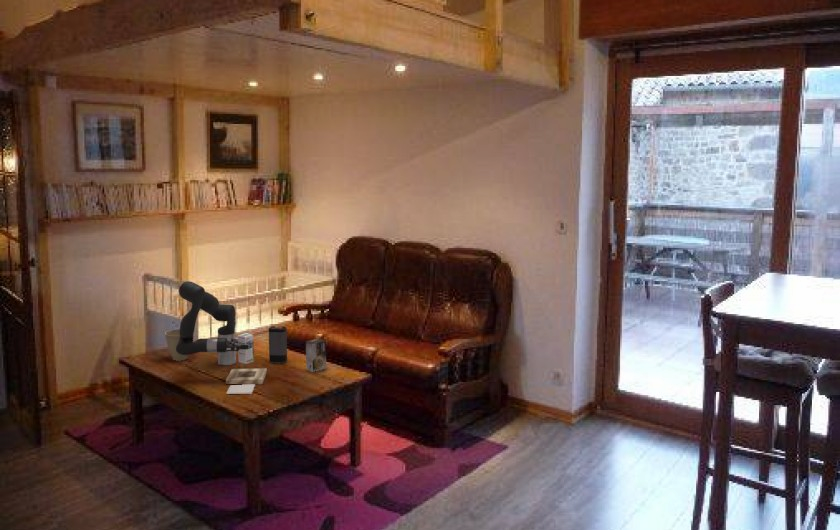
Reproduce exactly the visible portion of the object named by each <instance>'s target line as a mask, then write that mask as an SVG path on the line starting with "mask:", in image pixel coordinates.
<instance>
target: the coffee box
mask: <svg viewBox="0 0 840 530" xmlns="http://www.w3.org/2000/svg"><path fill="white" fill-rule="evenodd" d="M326 344H327V343H326V340H324V339H323V338H315V339H312V340H306V341H305V359H306V360H305V362H306V363H305V364H306V366H305V367H306V369H305V370H307V371H308V370H309V371H308V372H311V373H315V371H316V372H319V370H320V371H323V369H324V370H326V369H327V353H326V352H327V348H326V347H327V345H326Z"/></svg>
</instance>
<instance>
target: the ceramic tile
mask: <svg viewBox="0 0 840 530" xmlns="http://www.w3.org/2000/svg"><path fill="white" fill-rule="evenodd" d="M254 387H255V388H256V384H242V385H229V387H228V389H227V391H226V394H250V395H252V394H253V392H254V390H255V388H254ZM226 394H225V395H226Z"/></svg>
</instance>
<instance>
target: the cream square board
mask: <svg viewBox="0 0 840 530" xmlns="http://www.w3.org/2000/svg"><path fill="white" fill-rule="evenodd" d="M267 368H268V367H267ZM267 368H232V369H231V370H230V373H229V374H228V376H227V377H226V379H225V385H226V384H242V385H245V384H255V385H262V384H263V383H264V380H265V378H266V375H267V372H268V370H267Z"/></svg>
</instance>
